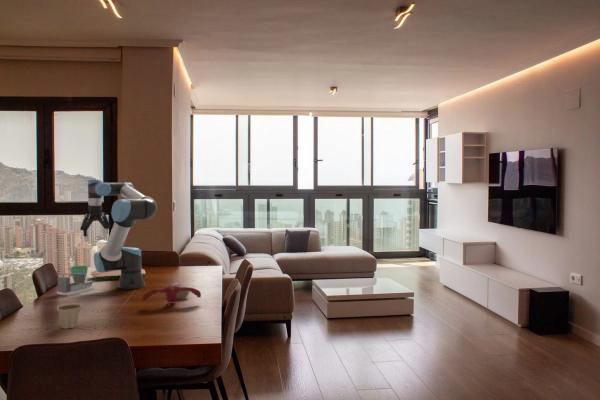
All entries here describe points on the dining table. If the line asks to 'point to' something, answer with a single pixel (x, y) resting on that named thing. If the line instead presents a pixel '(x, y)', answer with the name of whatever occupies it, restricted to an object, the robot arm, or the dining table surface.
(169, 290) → the decorative bird sculpture
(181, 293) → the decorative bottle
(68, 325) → the flower pot
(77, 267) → the mug
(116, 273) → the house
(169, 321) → the dining table surface
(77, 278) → the purple-grey block
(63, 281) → the gauge housing
